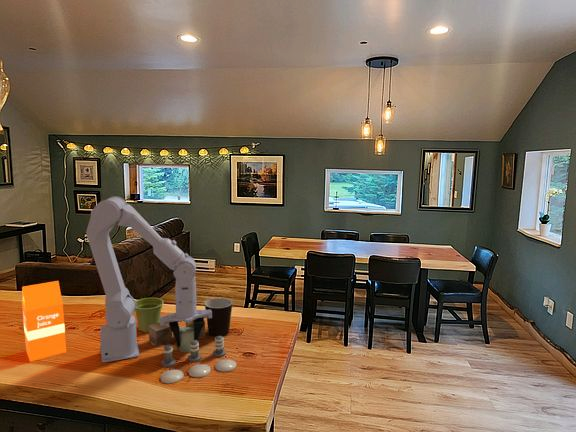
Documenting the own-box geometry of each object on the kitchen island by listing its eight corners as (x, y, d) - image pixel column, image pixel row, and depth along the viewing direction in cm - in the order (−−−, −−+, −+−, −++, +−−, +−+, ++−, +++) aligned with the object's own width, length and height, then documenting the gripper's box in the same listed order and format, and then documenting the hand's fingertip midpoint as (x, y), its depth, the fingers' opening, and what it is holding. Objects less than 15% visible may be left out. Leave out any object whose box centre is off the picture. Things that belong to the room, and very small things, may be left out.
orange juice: (25, 350, 111) (19, 283, 108) (61, 341, 117) (56, 277, 114) (29, 362, 105) (23, 290, 102) (66, 352, 111) (61, 284, 108)
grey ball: (174, 343, 117) (173, 331, 117) (172, 337, 121) (172, 325, 120) (187, 341, 119) (187, 328, 118) (185, 335, 122) (185, 323, 122)
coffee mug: (226, 340, 120) (226, 309, 118) (200, 337, 122) (200, 306, 120) (239, 324, 131) (239, 296, 130) (214, 321, 133) (214, 293, 131)
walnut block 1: (156, 347, 115) (156, 331, 114) (149, 341, 119) (148, 325, 118) (172, 341, 118) (172, 326, 118) (164, 336, 122) (164, 321, 121)
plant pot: (167, 322, 132) (166, 297, 130) (159, 335, 123) (158, 308, 121) (139, 322, 132) (138, 297, 130) (129, 334, 122) (127, 308, 121)
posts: (162, 368, 104) (161, 350, 103) (160, 361, 107) (160, 344, 106) (227, 355, 111) (227, 339, 110) (224, 349, 114) (223, 333, 113)
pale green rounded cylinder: (180, 353, 111) (180, 335, 111) (177, 346, 115) (177, 329, 115) (196, 350, 113) (196, 332, 113) (192, 343, 117) (192, 326, 116)
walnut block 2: (188, 339, 120) (188, 324, 119) (186, 333, 124) (185, 318, 124) (205, 337, 122) (205, 322, 121) (201, 330, 126) (201, 315, 126)
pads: (161, 385, 96) (161, 383, 96) (159, 373, 101) (159, 372, 101) (238, 369, 104) (238, 367, 104) (233, 359, 109) (233, 357, 109)
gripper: (160, 308, 106) (162, 355, 108) (214, 301, 111) (214, 345, 113) (158, 299, 112) (159, 343, 114) (208, 292, 118) (209, 335, 120)
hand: (186, 344), depth 114 cm, fingers closed on pale green rounded cylinder, 4 cm apart
